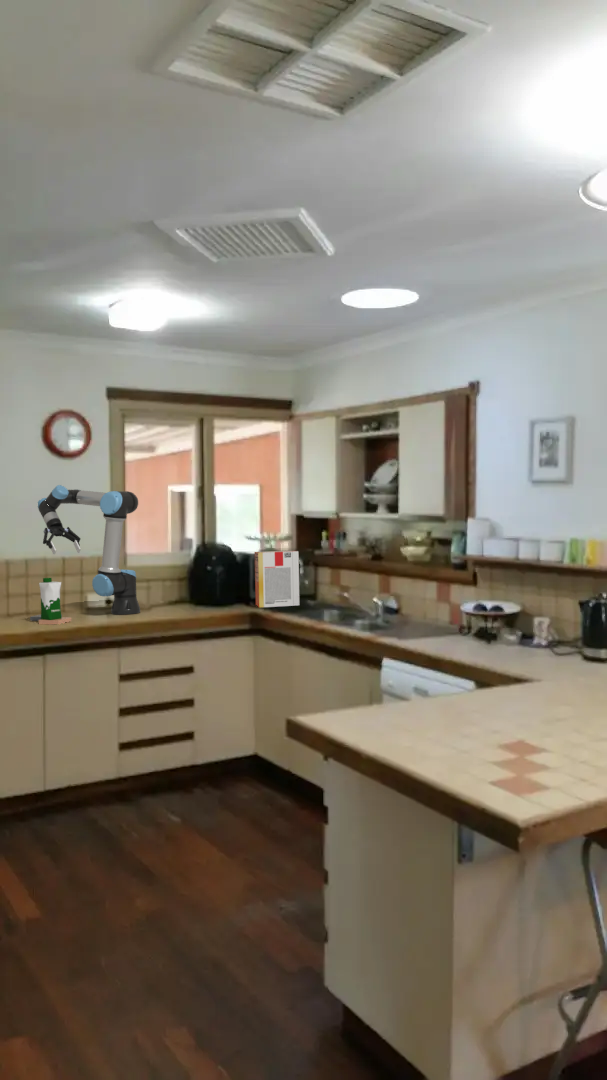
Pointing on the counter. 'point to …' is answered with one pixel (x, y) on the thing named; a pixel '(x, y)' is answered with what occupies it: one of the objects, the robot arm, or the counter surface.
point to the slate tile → (36, 618)
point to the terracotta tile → (55, 621)
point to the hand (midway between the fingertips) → (67, 551)
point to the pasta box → (277, 578)
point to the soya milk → (50, 599)
